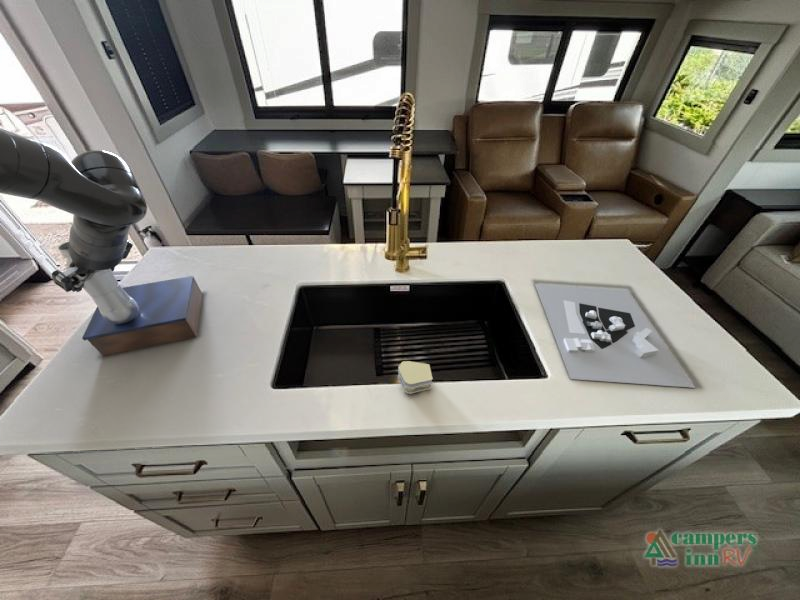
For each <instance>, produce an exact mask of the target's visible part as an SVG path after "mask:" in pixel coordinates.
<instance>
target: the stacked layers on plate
mask: <svg viewBox="0 0 800 600" xmlns="http://www.w3.org/2000/svg"><path fill="white" fill-rule="evenodd" d="M397 369H398V370H397V373H398V374H397V380H398V381H399V383H400V385H401V387H402V389H403V391H404V392H405V394H408V395H412V394H415V393H419V392H423V391H429V390H432V385H431V384H433V381H432V380H433V379H434V378H433V374H432V369H431V365H430V364H429V363H425V362H424V363H423V362H417V361H411V360H404V361H402V362H401V363H400V364H399V365H398V367H397Z"/></svg>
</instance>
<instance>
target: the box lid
mask: <svg viewBox="0 0 800 600" xmlns="http://www.w3.org/2000/svg"><path fill="white" fill-rule="evenodd" d="M194 279H195V276H194V275H190V276H189V275H188V276H184V277H178V278H172V279H165V280H159V281H154V282H147V283H141V284H137V285H136V284H135V285H130V286H124V287H122V288H123V289H124V291H125V292H126V293H127V294H128V295H129V296H130V297H131V298H133V299H134V300H135V301H136V302H137V304H138V307H139V312H138V315H137V316H136V317H135V318H134V319H132V320H131V321H129V322H126V323H122V324H114V323H110V322H108V321H107V320H106V319H104V318H103V316H102V315H101V313H100V310H99V308H98V306H97V305H96V308H95V310H94V313H93V315H92V316H91V318H90V320H89V323H88V324H87V327H86V329H85V330H84V333H83V336H82V337H81V339H82V340H83V341H88V340H89V339H94V338H99V337H104V336H109V335H114V334H119V333H125V332H130V331H135V330H140V329H145V328H150V327H155V326H160V325H165V324H170V323H175V322H180V321H185V320H187V314H188V309H189V303H190V298H191V293H192V287H193V282H194Z"/></svg>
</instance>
